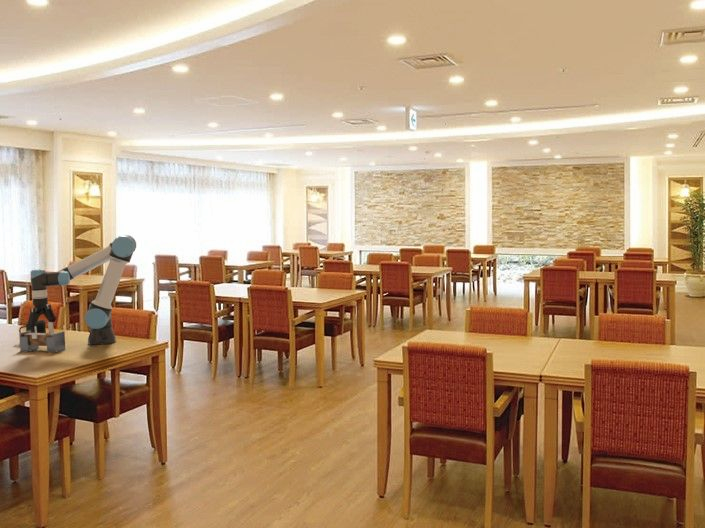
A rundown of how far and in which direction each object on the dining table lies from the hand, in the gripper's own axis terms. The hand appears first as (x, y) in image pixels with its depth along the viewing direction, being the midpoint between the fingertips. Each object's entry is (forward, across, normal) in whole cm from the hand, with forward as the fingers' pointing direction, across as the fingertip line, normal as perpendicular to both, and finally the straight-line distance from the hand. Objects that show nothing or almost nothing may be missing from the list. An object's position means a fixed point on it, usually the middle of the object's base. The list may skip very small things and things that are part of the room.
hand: (43, 336), depth 380 cm
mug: (+8, -20, -23) cm, 31 cm away
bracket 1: (+8, 0, -9) cm, 11 cm away
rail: (+5, 0, -1) cm, 5 cm away
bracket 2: (+8, 0, +7) cm, 11 cm away
